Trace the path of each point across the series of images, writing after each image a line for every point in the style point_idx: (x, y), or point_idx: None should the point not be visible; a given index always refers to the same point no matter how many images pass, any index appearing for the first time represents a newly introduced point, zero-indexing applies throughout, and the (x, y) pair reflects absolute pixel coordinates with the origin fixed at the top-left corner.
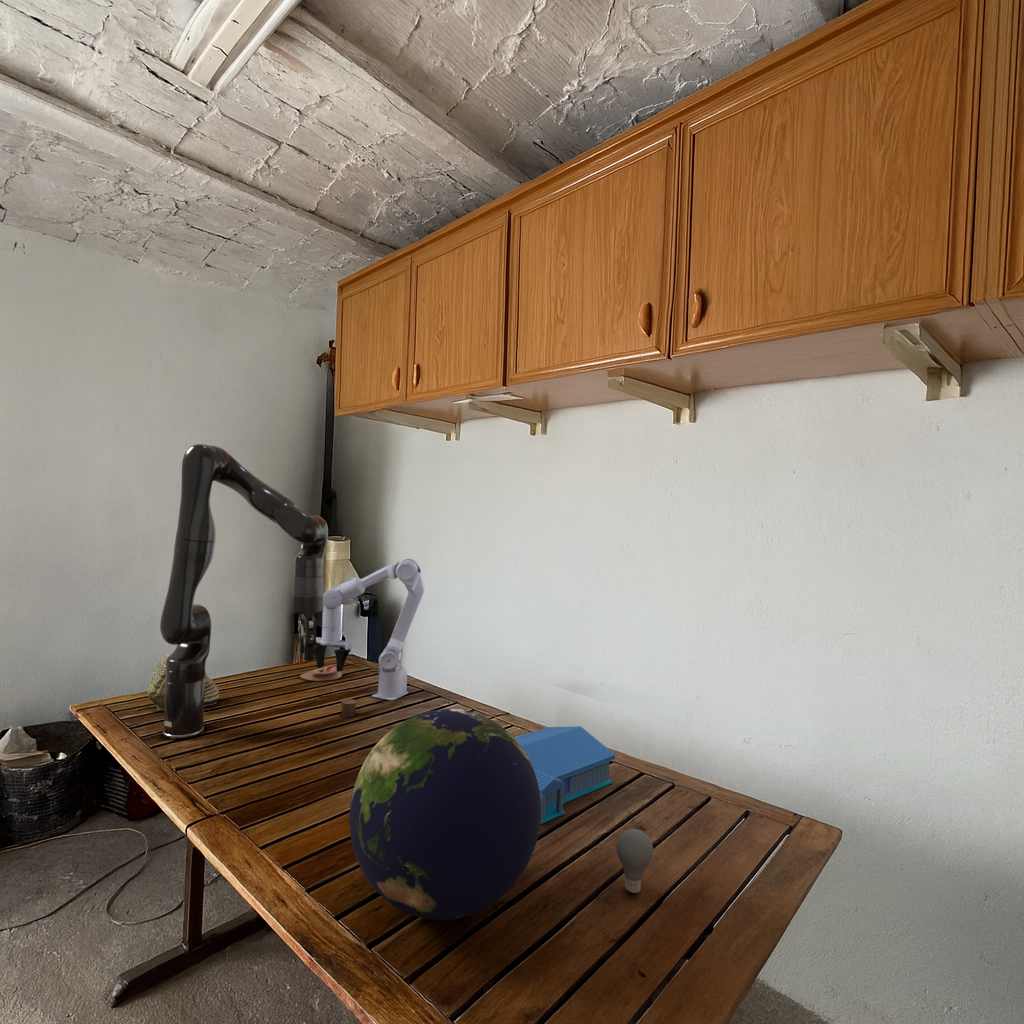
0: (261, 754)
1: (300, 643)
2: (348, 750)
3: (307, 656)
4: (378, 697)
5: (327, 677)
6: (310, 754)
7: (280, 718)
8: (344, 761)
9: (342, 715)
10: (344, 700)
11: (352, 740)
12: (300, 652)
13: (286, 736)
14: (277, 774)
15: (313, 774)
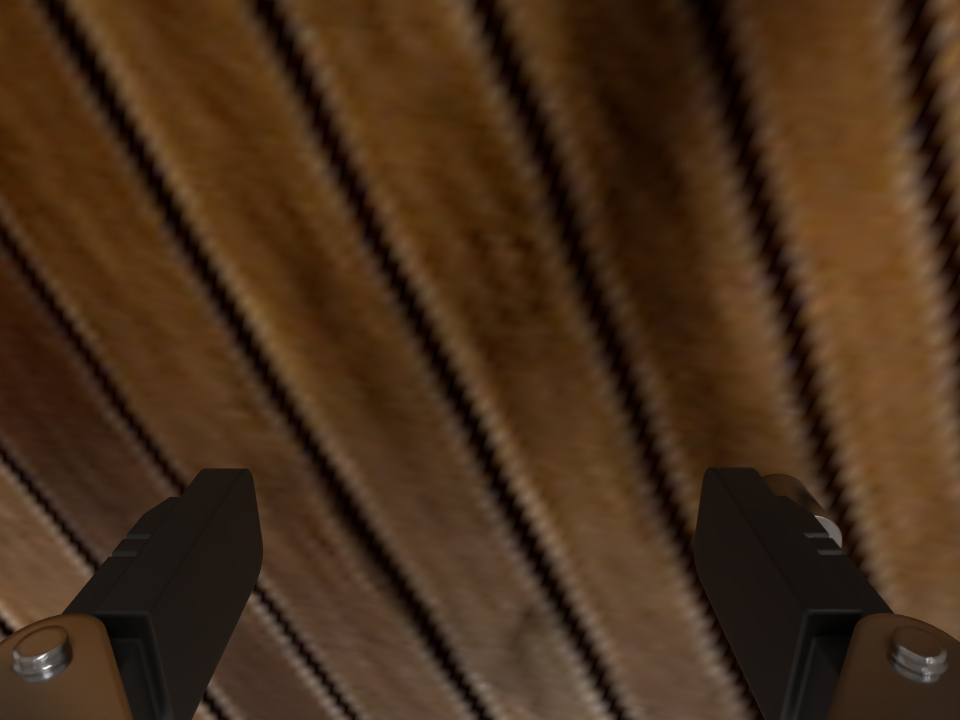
0: (380, 14)
1: (768, 557)
2: (321, 424)
3: (137, 534)
4: None
5: None
6: (316, 261)
7: (903, 173)
8: (201, 388)
9: (768, 478)
10: (830, 530)
11: (434, 460)
12: (711, 470)
13: (599, 176)
14: (101, 77)
15: (79, 242)
